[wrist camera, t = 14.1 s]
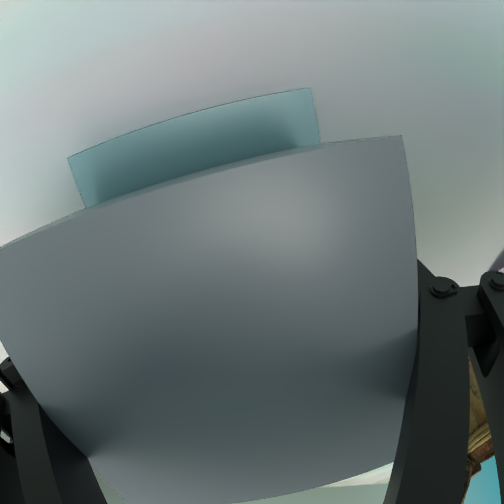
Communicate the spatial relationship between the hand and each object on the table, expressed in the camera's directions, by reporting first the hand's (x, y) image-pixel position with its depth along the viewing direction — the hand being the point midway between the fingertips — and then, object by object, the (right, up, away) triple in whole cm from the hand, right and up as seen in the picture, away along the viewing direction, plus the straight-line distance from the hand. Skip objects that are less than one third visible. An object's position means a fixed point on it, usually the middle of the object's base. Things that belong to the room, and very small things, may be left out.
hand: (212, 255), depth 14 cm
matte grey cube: (0, -1, +1) cm, 2 cm away
